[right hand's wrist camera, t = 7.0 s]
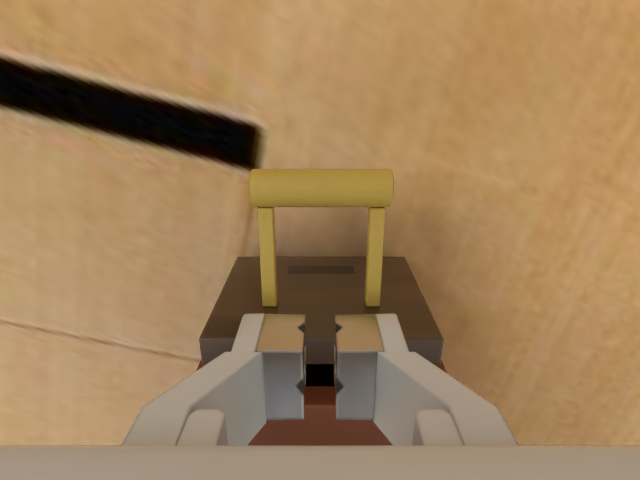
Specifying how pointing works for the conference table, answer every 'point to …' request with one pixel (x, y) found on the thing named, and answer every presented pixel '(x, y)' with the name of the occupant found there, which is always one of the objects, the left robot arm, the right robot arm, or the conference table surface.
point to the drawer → (321, 271)
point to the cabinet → (320, 425)
